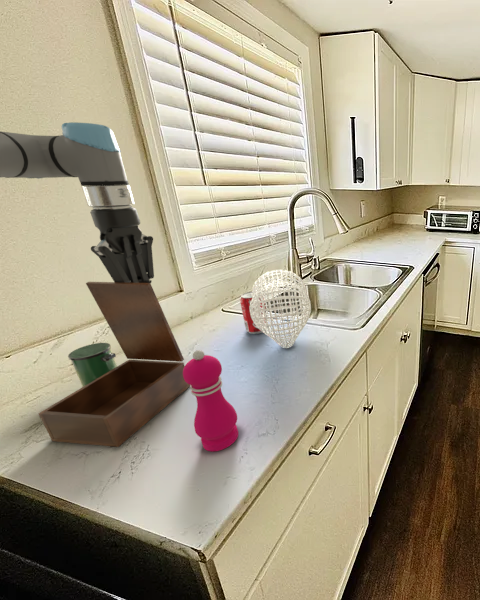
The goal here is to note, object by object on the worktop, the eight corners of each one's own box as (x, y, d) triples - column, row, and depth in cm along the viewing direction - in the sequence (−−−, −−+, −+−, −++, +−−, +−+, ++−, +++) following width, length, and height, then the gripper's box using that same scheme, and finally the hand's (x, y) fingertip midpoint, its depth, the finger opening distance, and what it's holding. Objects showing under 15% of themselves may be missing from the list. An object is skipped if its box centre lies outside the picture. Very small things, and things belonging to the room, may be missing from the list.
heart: (261, 331, 109) (249, 267, 101) (308, 324, 114) (301, 262, 106) (258, 377, 84) (243, 296, 76) (319, 365, 89) (310, 288, 81)
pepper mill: (219, 458, 60) (193, 365, 53) (191, 448, 62) (162, 357, 55) (249, 431, 66) (229, 344, 59) (222, 422, 68) (200, 338, 61)
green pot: (69, 393, 79) (53, 357, 75) (100, 375, 86) (86, 341, 82) (107, 395, 77) (93, 359, 74) (135, 377, 85) (123, 343, 81)
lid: (147, 284, 68) (150, 283, 69) (85, 283, 69) (88, 281, 70) (182, 361, 78) (184, 359, 79) (127, 358, 79) (129, 356, 80)
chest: (118, 447, 63) (106, 418, 60) (52, 441, 64) (37, 413, 62) (190, 385, 81) (183, 362, 78) (137, 382, 82) (129, 359, 80)
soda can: (255, 337, 105) (247, 299, 100) (241, 331, 109) (234, 295, 104) (273, 328, 111) (267, 293, 106) (260, 324, 114) (254, 289, 110)
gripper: (99, 210, 61) (136, 324, 70) (154, 204, 73) (181, 302, 82) (63, 210, 62) (105, 322, 70) (124, 204, 74) (153, 301, 82)
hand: (145, 311), depth 76 cm, fingers closed
